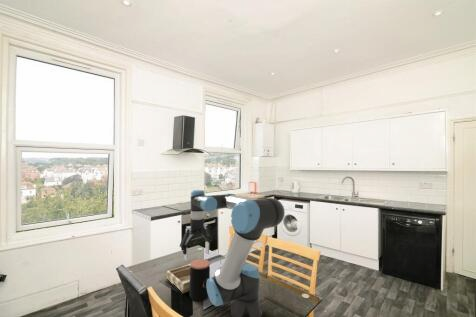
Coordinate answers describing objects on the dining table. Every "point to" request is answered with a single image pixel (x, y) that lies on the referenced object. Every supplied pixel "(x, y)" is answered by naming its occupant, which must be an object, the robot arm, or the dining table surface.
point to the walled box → (180, 277)
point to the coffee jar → (199, 279)
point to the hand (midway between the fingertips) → (196, 256)
